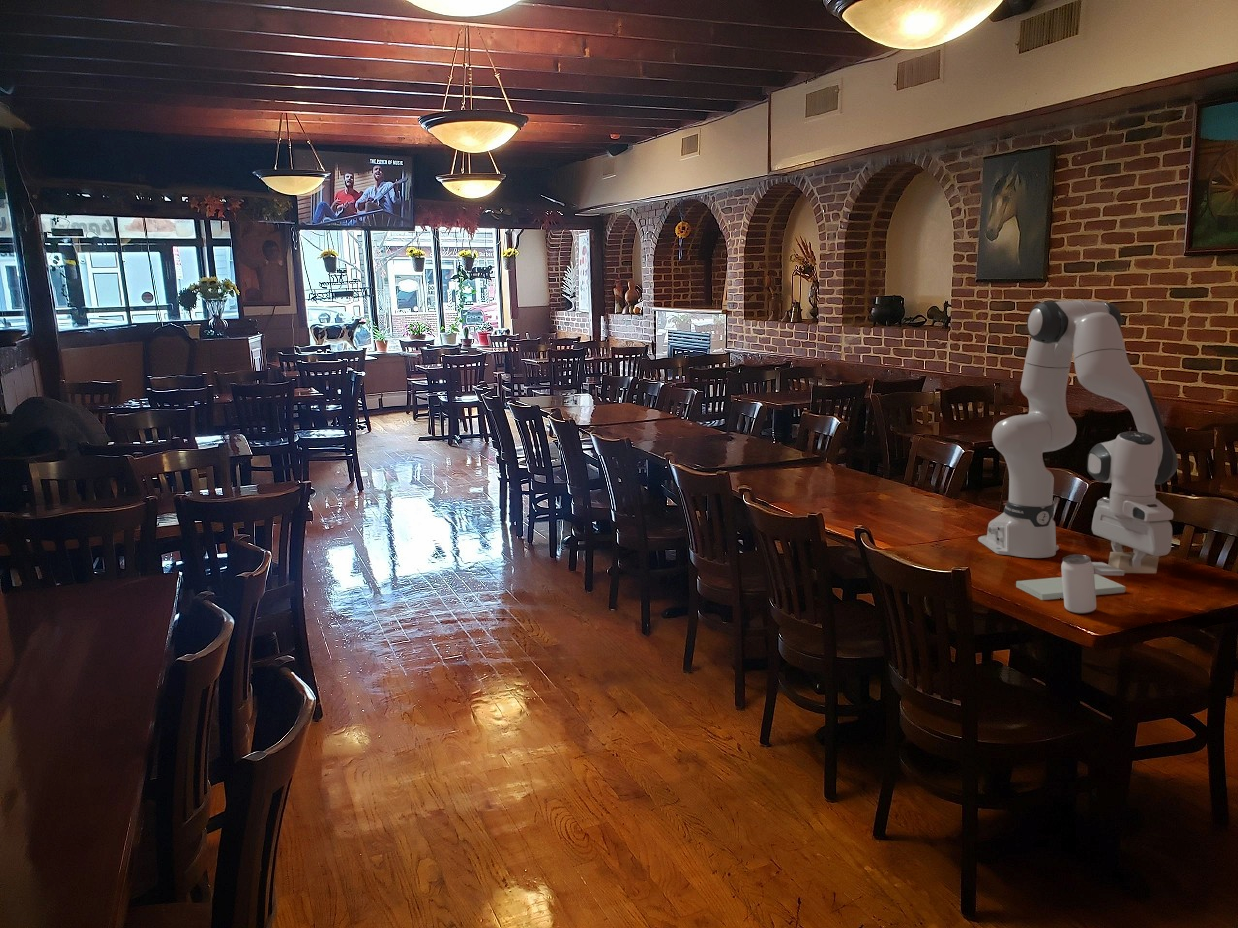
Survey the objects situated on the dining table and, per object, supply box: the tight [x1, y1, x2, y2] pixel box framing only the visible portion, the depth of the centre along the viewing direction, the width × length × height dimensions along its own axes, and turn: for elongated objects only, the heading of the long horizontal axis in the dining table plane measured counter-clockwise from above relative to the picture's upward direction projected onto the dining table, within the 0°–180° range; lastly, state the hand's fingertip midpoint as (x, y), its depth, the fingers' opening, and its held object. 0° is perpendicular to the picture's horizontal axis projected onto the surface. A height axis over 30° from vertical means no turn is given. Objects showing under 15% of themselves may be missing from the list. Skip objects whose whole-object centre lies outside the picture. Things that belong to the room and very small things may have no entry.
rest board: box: [1015, 573, 1126, 601], centre depth 210 cm, size 10×22×2 cm, turn 100°
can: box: [1060, 554, 1097, 615], centre depth 195 cm, size 6×6×12 cm
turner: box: [1091, 551, 1160, 576], centre depth 196 cm, size 7×16×4 cm, turn 100°
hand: (1126, 563), depth 196 cm, fingers closed on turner, 3 cm apart
